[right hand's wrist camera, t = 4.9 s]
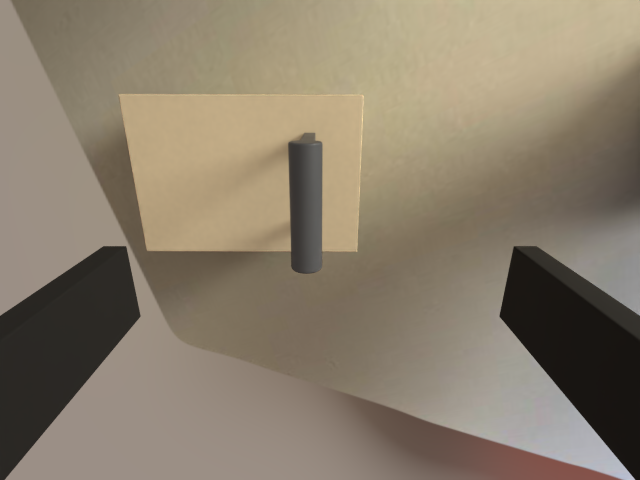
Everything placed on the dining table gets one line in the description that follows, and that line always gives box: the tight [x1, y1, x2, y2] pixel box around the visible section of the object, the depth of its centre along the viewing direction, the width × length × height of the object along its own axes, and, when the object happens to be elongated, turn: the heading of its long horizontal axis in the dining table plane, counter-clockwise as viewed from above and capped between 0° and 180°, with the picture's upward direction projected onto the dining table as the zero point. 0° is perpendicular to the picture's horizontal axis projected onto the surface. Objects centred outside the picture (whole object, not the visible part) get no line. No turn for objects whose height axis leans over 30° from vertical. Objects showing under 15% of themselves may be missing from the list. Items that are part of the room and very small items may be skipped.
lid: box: [119, 94, 364, 274], centre depth 20 cm, size 15×10×8 cm
